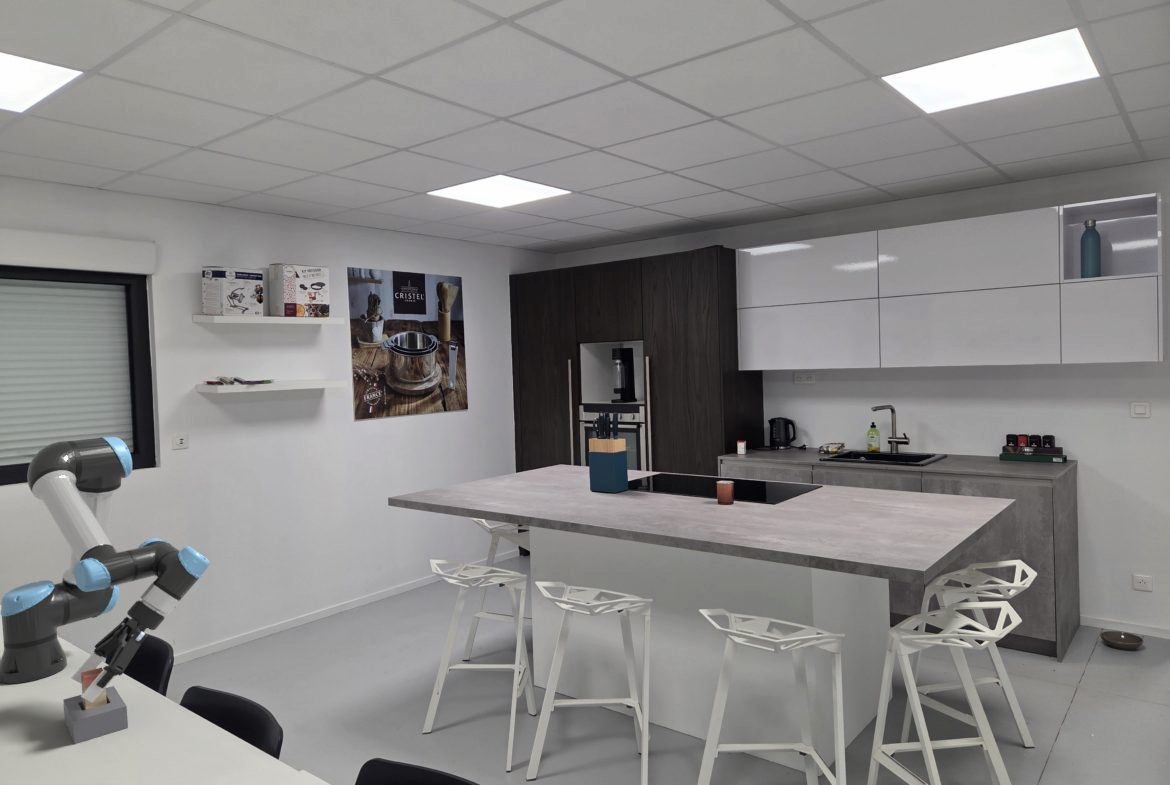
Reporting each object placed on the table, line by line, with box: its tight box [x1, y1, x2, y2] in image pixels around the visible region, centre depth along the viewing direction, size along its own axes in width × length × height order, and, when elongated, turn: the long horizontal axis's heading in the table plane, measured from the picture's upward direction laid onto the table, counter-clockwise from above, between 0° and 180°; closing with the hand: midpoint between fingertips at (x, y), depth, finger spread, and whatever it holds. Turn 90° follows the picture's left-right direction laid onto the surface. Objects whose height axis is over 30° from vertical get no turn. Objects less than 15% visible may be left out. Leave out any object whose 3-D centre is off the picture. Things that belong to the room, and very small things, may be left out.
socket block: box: [63, 685, 129, 745], centre depth 172 cm, size 15×10×5 cm, turn 41°
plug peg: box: [81, 667, 107, 710], centre depth 171 cm, size 4×4×12 cm
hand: (81, 690), depth 170 cm, fingers open, 13 cm apart
